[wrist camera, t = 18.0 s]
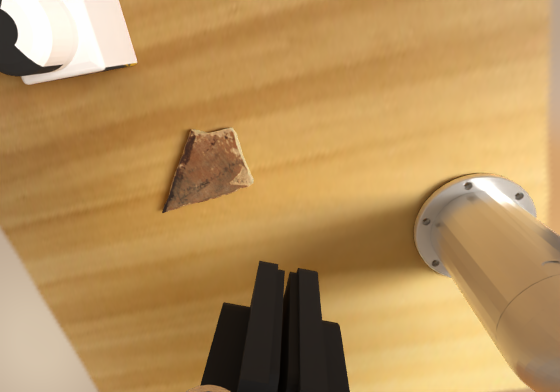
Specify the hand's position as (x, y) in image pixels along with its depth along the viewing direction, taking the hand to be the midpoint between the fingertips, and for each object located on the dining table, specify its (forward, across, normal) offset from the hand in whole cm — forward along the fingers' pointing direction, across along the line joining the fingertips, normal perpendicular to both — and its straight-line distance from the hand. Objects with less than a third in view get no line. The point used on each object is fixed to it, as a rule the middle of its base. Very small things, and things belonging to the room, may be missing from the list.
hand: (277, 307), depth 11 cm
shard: (+30, +7, +8) cm, 32 cm away
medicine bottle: (+29, +20, -4) cm, 36 cm away
